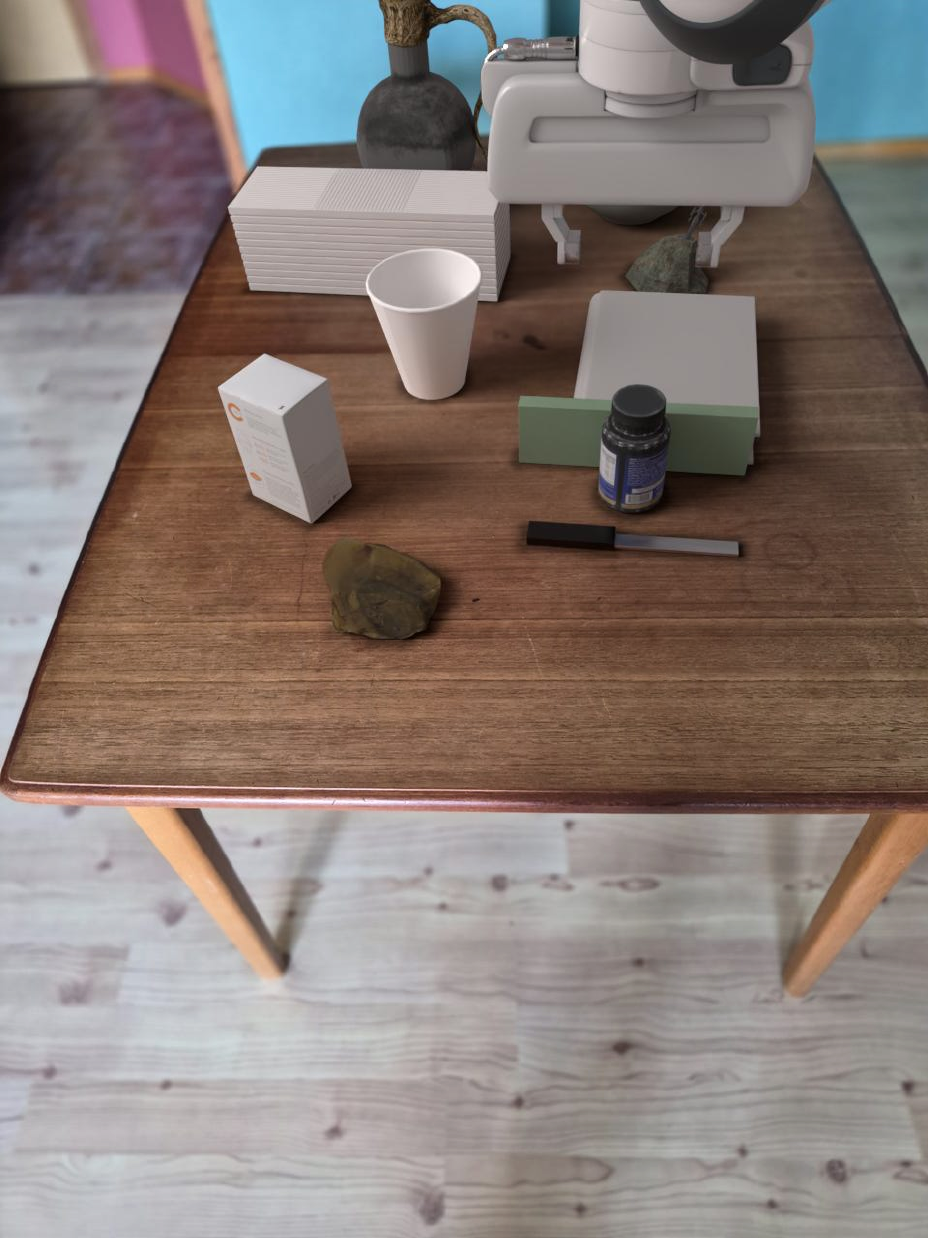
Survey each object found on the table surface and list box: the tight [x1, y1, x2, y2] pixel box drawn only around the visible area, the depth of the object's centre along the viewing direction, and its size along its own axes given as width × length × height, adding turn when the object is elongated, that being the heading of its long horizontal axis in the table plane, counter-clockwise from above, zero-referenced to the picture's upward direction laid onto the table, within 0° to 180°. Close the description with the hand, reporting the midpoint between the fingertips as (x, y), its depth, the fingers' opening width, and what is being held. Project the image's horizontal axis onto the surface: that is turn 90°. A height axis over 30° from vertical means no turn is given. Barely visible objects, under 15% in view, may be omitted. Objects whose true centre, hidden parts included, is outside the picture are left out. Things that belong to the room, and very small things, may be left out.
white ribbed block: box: [227, 165, 512, 302], centre depth 110 cm, size 32×11×11 cm, turn 79°
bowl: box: [585, 205, 679, 226], centre depth 117 cm, size 19×19×8 cm
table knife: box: [525, 520, 740, 558], centre depth 81 cm, size 19×2×1 cm, turn 81°
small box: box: [217, 353, 353, 525], centre depth 83 cm, size 8×6×13 cm
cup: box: [366, 248, 483, 401], centre depth 94 cm, size 12×12×12 cm
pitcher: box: [356, 0, 499, 171], centre depth 112 cm, size 11×19×30 cm, turn 76°
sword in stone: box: [625, 206, 710, 295], centre depth 104 cm, size 10×8×12 cm
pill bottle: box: [597, 384, 671, 514], centre depth 81 cm, size 6×6×11 cm
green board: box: [517, 395, 759, 476], centre depth 85 cm, size 22×2×7 cm, turn 81°
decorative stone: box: [321, 536, 442, 640], centre depth 77 cm, size 10×9×4 cm
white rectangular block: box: [573, 289, 761, 466], centre depth 94 cm, size 18×4×24 cm
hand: (636, 261), depth 62 cm, fingers open, 8 cm apart
